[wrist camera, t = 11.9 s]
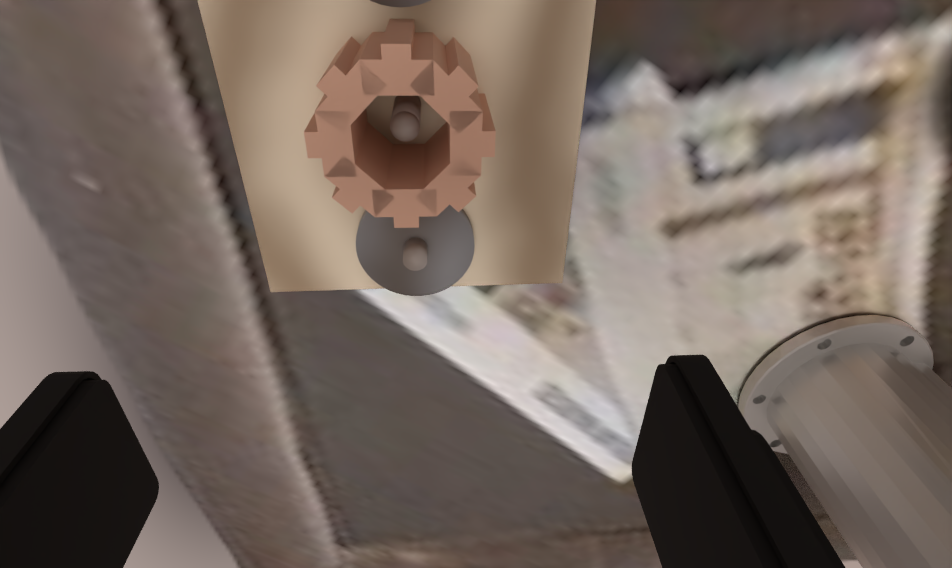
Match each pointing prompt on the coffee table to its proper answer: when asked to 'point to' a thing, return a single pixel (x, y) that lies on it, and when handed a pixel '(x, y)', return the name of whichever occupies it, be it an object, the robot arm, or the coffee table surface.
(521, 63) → the board
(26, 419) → the robot arm
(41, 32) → the coffee table surface
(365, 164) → the gear wheel
